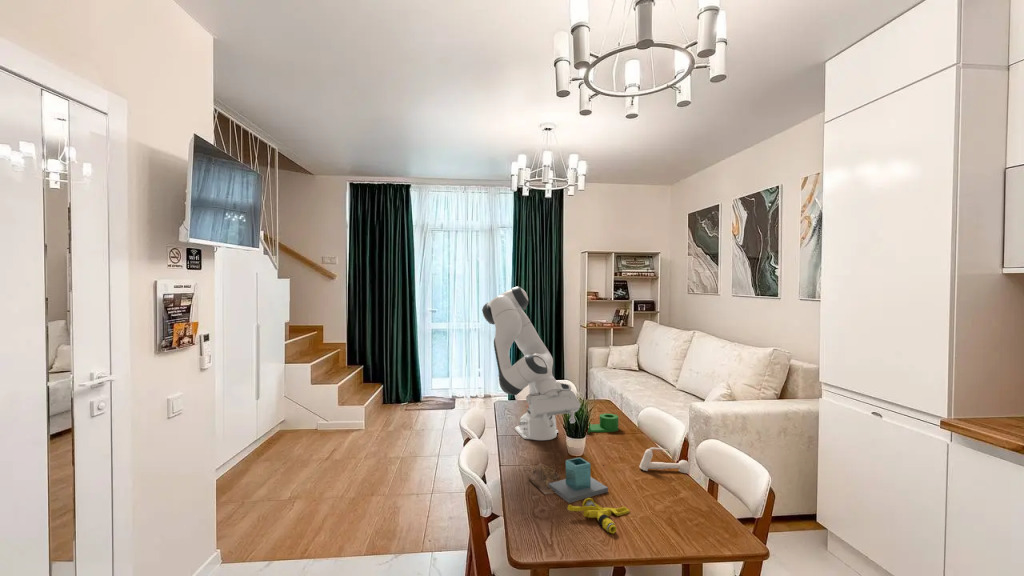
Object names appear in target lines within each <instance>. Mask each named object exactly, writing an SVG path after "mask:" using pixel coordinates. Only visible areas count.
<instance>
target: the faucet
mask: <svg viewBox="0 0 1024 576" xmlns="http://www.w3.org/2000/svg"><path fill="white" fill-rule="evenodd" d="M654 450H662V451H668V449H666V448H662V447H661V448H660V447H650V448H647V449H646V450H645V451H644V453H643V457H642V458H641V461H640V463H639V468H640V469H641V470H642V471H646V472H648V471H649V470H665V469H678V471H679V472H680V473H682V474H689V473H690V468H691V467H690V464H689V462H688V461H687V460H685V459H681V460H679V461H678V462H677V463H676V462H662V461H652V459H653V456H654V453H653V451H654Z"/></svg>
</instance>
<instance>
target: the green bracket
mask: <svg viewBox="0 0 1024 576" xmlns="http://www.w3.org/2000/svg"><path fill="white" fill-rule="evenodd" d="M618 431H619V415H617V414H616V413H615V414H614V413H601V414H599V423H595V424H592V423H591V421H590V422H589V428H588V433H587V434H590V432H596V433H613V432H614V433H615V432H618Z"/></svg>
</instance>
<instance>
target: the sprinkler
mask: <svg viewBox="0 0 1024 576" xmlns="http://www.w3.org/2000/svg"><path fill="white" fill-rule="evenodd" d="M567 510H568V511H570V512H583V517H585V518H586V517H587V518H590V519H591V518H595V519H597V521H598V523H599V524H600V526H601V527H602V528H603V529H604V530H605V531H606V532H608V533H610V534H615V533H616V532H617V525H616V524H615V522H614V521H613V520H612V519H611V518H610V517H609V516H612V514H614V516H618V517H619V516H623V515H626V514H629V512H630V509H628V508H627V507H626V506H622V507H621V506H620V507H618V508H616V507H615V508H614V507H602V506H600V504H597V503H596V502H595V501H594V499H593V498H591V497H589V498H585V499H583V502H582V506H579V505H572V504H568V506H567Z"/></svg>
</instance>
